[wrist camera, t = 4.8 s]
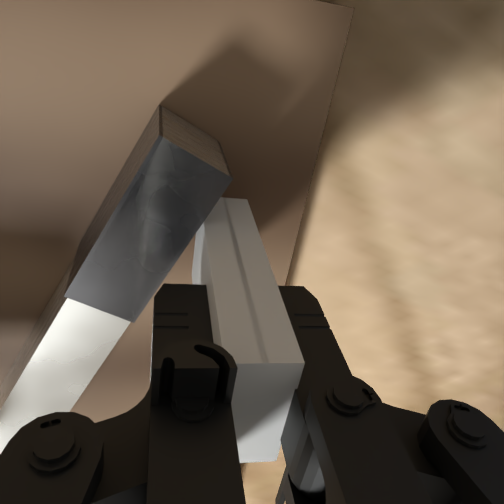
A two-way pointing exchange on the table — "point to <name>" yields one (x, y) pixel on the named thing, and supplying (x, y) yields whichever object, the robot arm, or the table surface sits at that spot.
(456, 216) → the table surface
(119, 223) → the arm
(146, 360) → the board
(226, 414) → the robot arm
